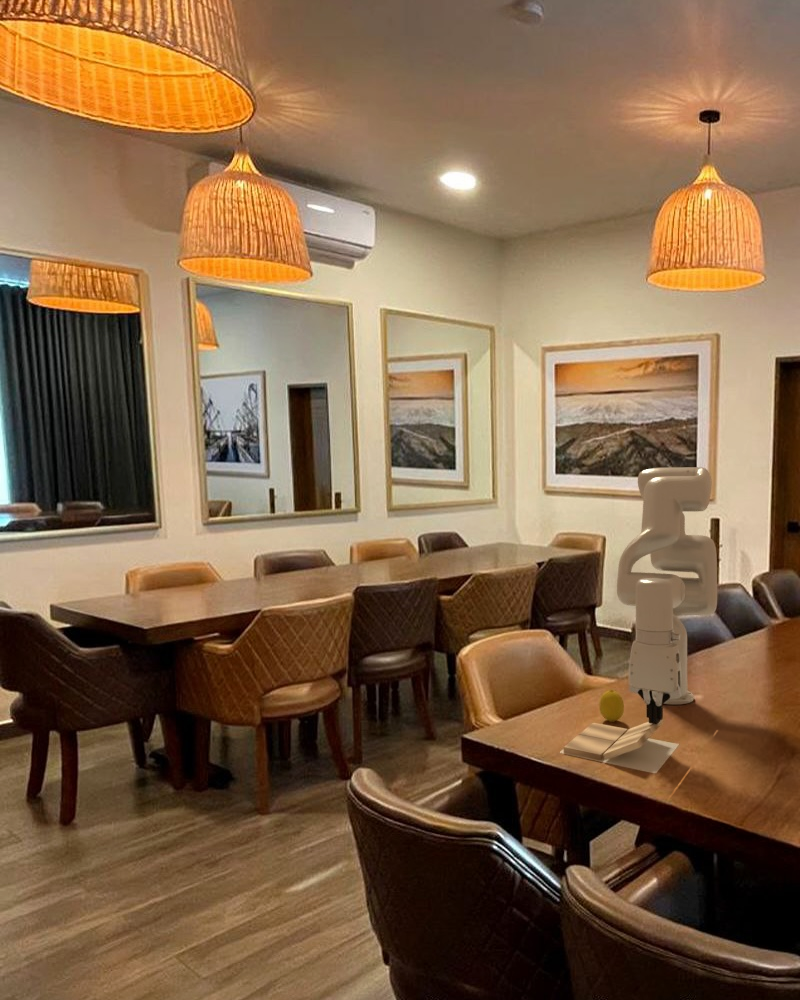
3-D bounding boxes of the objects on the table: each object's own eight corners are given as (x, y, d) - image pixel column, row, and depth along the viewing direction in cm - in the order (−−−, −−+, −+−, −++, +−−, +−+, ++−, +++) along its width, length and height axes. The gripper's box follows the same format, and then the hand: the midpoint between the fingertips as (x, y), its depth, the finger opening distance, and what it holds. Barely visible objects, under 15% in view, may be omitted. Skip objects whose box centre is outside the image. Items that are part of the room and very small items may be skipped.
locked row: (592, 727, 169) (592, 722, 169) (627, 734, 164) (627, 728, 164) (563, 752, 154) (563, 746, 154) (600, 760, 150) (600, 754, 150)
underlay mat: (589, 728, 169) (589, 727, 169) (679, 746, 158) (679, 744, 158) (559, 754, 154) (559, 752, 154) (655, 775, 143) (655, 773, 143)
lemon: (607, 728, 169) (607, 694, 169) (595, 720, 175) (594, 687, 174) (628, 725, 171) (628, 691, 171) (615, 717, 176) (615, 685, 176)
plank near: (619, 746, 156) (616, 741, 156) (652, 734, 152) (649, 729, 152) (605, 760, 149) (602, 754, 149) (639, 747, 145) (636, 741, 145)
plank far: (632, 733, 164) (629, 728, 164) (664, 721, 159) (661, 716, 160) (620, 745, 157) (617, 740, 157) (652, 733, 152) (649, 728, 153)
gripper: (695, 637, 154) (695, 723, 155) (624, 629, 163) (625, 711, 164) (686, 644, 148) (686, 734, 149) (613, 636, 157) (614, 720, 157)
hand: (654, 721), depth 156 cm, fingers closed
